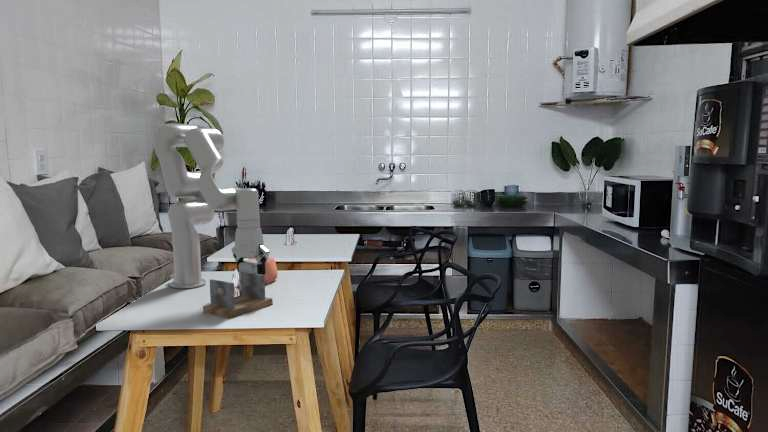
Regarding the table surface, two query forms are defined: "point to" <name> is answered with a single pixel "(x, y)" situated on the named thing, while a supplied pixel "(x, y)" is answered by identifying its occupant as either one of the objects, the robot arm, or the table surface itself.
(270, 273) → the teapot
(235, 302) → the wooden stand
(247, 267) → the ink box
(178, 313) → the table surface
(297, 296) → the table surface
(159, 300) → the table surface
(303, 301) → the table surface
